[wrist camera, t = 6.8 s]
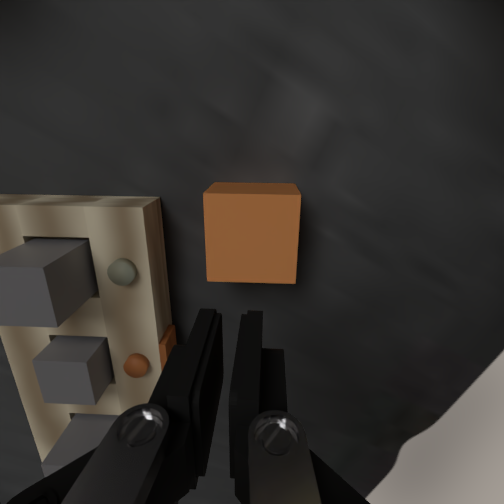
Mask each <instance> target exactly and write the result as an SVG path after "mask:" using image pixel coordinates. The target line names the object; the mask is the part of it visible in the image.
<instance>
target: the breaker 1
mask: <svg viewBox="0 0 504 504" xmlns="http://www.w3.org/2000/svg"><path fill="white" fill-rule="evenodd" d="M98 290H99V289H98V284H97V278H96V273H95V268H94V262H93V257H92V251H91V246H90V241H89V240H88V239H46V238H35V239H32V240H30V241H28V242H26V243H24V244H22V245H19V246H17V247H15V248H13V249H11V250H8V251H6V252H4V253H2V254H0V326H24V327H52V328H58V327H59V326H60V325H61V324H62V323H63V322H64V321H66V320H67V319H68V318H69V317H70V316H71V315H72V314H73V313H74V312H75V311H76V310H77V309H78V308H80V307H81V306H82V305H83V304H84V303H85V302H86V301H87V300H88V299H89V298H90V297H91V296H92V295H93V294H95V293H96V292H97V291H98Z"/></svg>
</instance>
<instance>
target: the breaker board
mask: <svg viewBox="0 0 504 504" xmlns="http://www.w3.org/2000/svg"><path fill="white" fill-rule="evenodd" d="M35 238H46V239H88V240H89V241H90V246H91V251H92V257H93V262H94V268H95V273H96V278H97V284H98V289H99V290H98V291H97V292H96V293H95V294H93V295H92V296H91V297H90V298H89V299H88V300H87V301H86V302H85V303H84V304H83V305H82V306H81V307H80V308H78V309H77V310H76V311H75V312H74V313H73V314H72V315H71V316H70V317H69V318H68V319H67V320H66V321H64V322H63V323H62V324H61V325H60V326H59V327H58V328H52V327H24V326H0V336H1V339H2V342H3V345H4V348H5V351H6V354H7V357H8V360H9V363H10V366H11V369H12V372H13V375H14V378H15V381H16V384H17V387H18V390H19V393H20V397H21V400H22V403H23V406H24V409H25V412H26V415H27V418H28V421H29V424H30V427H31V430H32V433H33V436H34V439H35V442H36V445H37V448H38V451H39V454H40V457H41V461H42V462H43V461H44V459H45V458H46V456H47V455H48V453H49V452H50V451H51V449H52V448H53V446H54V445H55V443H56V442H57V440H58V439H59V437H60V436H61V434H62V433H63V431H64V430H65V429H66V427H67V426H68V424H69V423H70V421H71V420H72V418H73V417H74V415H75V414H76V413H83V414H104V415H121V414H122V413H123V412H125V411H126V410H127V409H129V408H131V407H133V406H135V405H139V404H144V403H148V401H149V399H150V397H151V395H152V392H153V390H154V388H155V386H156V383H157V381H158V379H159V377H160V374H161V372H162V370H163V368H164V365H165V363H166V361H167V359H168V356H169V354H170V352H171V350H172V348H173V346H174V345H175V344H177V343H176V332H175V325H172V317H171V307H170V297H169V286H168V276H167V265H166V255H165V244H164V234H163V223H162V213H161V203H160V197H132V196H76V195H20V194H0V254H2V253H4V252H6V251H8V250H11V249H13V248H15V247H17V246H19V245H22V244H24V243H26V242H28V241H30V240H32V239H35ZM58 335H67V336H95V337H107V338H108V343H109V349H110V354H111V360H112V365H113V370H114V377H113V379H112V380H111V382H110V383H109V385H108V387H107V388H106V390H105V391H104V393H103V394H102V396H101V398H100V399H99V401H98V402H97V404H96V405H78V404H56V403H44V400H43V397H42V393H41V390H40V387H39V383H38V380H37V376H36V373H35V370H34V366H33V363H32V360H33V359H34V358H35V357H36V356H37V355H38V354H39V353H40V352H41V351H42V350H43V349H44V348H45V347H46V346H47V345H48V344H49V343H50V342H51V341H52V340H53V339H54V338H55V337H56V336H58Z"/></svg>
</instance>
